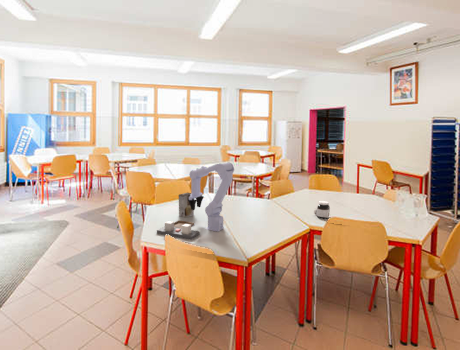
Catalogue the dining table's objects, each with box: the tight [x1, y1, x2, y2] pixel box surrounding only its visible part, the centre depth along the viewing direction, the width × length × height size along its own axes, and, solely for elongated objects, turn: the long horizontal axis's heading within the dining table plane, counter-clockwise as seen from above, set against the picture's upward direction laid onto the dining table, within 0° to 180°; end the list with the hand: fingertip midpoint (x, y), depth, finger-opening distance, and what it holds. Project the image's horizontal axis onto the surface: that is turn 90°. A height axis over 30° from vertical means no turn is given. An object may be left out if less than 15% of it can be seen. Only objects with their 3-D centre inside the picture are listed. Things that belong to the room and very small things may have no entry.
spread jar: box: [313, 200, 331, 220], centre depth 217 cm, size 12×11×12 cm
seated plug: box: [164, 220, 175, 231], centre depth 180 cm, size 4×4×7 cm
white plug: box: [182, 224, 192, 235], centre depth 175 cm, size 4×4×7 cm
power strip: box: [156, 225, 200, 241], centre depth 178 cm, size 24×9×3 cm, turn 67°
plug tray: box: [173, 219, 195, 228], centre depth 192 cm, size 12×12×2 cm
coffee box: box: [178, 192, 195, 218], centre depth 214 cm, size 9×6×16 cm
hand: (195, 208), depth 197 cm, fingers open, 7 cm apart
